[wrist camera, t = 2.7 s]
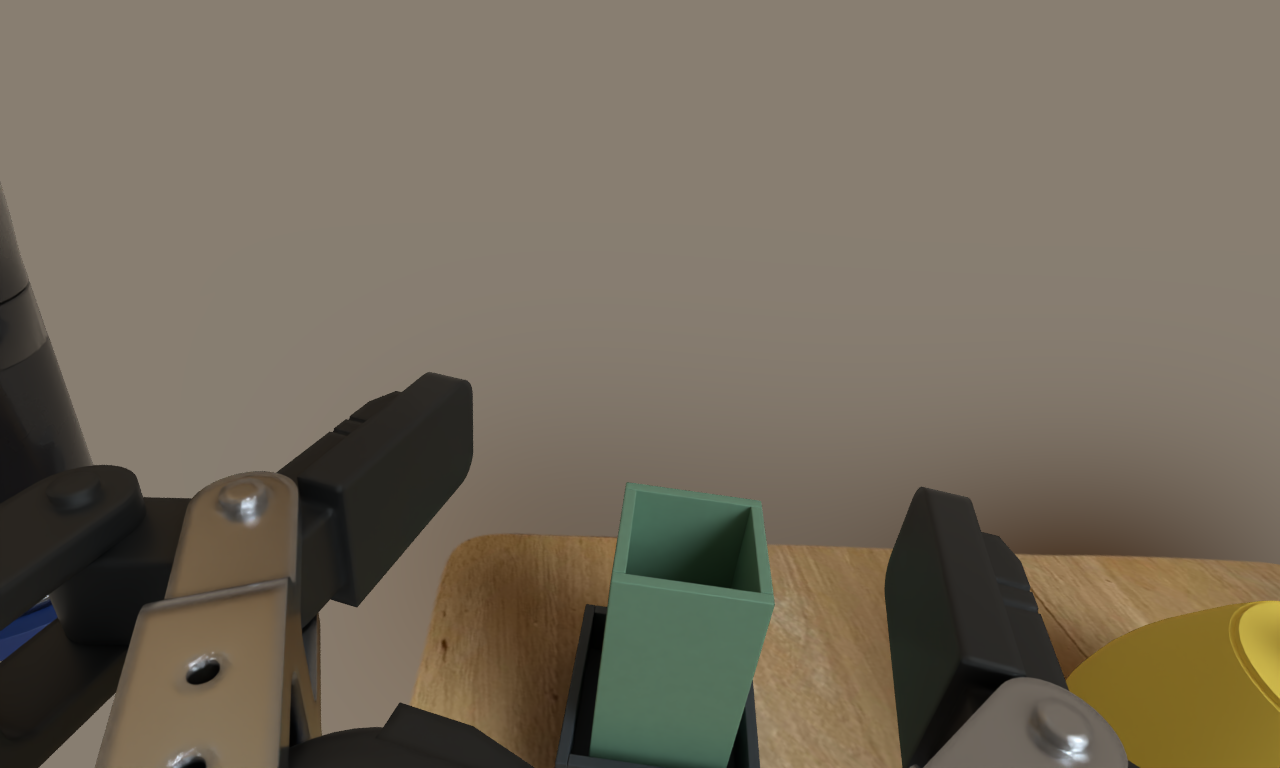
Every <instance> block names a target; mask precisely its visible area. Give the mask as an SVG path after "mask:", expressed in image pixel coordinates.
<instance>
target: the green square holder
mask: <svg viewBox="0 0 1280 768" xmlns="http://www.w3.org/2000/svg"><path fill="white" fill-rule="evenodd" d="M774 605H775V602H774V596H773V587H772V580H771V572H770V565H769V557H768V550H767V543H766V535H765V527H764V520H763V512H762V505H761V501H757V500H750V499H743V498H736V497H728V496H722V495H715V494H707V493H700V492H693V491H686V490H679V489H672V488H665V487H658V486H650V485H643V484H636V483H629V482H627V483H626V488H625V494H624V501H623V507H622V513H621V520H620V526H619V532H618V538H617V545H616V551H615V557H614V564H613V570H612V576H611V583H610V591H609V599H608V606H607V614H606V622H605V630H604V638H603V646H602V654H601V662H600V669H599V677H598V685H597V693H596V701H595V709H594V717H593V725H592V732H591V740H590V748H589V756H588V757H595V758H602V759H609V760H616V761H622V762H629V763H636V764H643V765H650V766H657V767H664V768H727V764H728V761H729V757H730V754H731V751H732V747H733V744H734V741H735V737H736V734H737V730H738V727H739V724H740V720H741V717H742V713H743V710H744V707H745V703H746V700H747V697H748V693H749V690H750V686H751V683H752V680H753V676H754V673H755V670H756V666H757V663H758V659H759V656H760V653H761V649H762V646H763V643H764V639H765V636H766V632H767V629H768V626H769V622H770V619H771V615H772V612H773V609H774Z"/></svg>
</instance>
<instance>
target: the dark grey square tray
mask: <svg viewBox="0 0 1280 768" xmlns="http://www.w3.org/2000/svg"><path fill="white" fill-rule="evenodd" d="M606 614H607V607H603V606H595V605H589V604H586V607H585V612H584V617H583V622H582V627H581V633H580V638H579V643H578V648H577V653H576V658H575V663H574V669H573V674H572V679H571V684H570V689H569V694H568V699H567V704H566V710H565V715H564V720H563V725H562V730H561V735H560V740H559V746H558V751H557V756H556V761H555V768H664V767H657V766H650V765H643V764H636V763H629V762H622V761H616V760H609V759H602V758H595V757H588V756H589V748H590V740H591V732H592V725H593V717H594V709H595V701H596V693H597V685H598V677H599V669H600V662H601V654H602V646H603V638H604V630H605V622H606ZM727 768H760V760H759V748H758V737H757V725H756V713H755V701H754V689H753V680H752V683H751V686H750V690H749V693H748V697H747V700H746V703H745V707H744V710H743V713H742V717H741V720H740V724H739V727H738V730H737V734H736V737H735V741H734V744H733V747H732V751H731V754H730V757H729V761H728V764H727Z"/></svg>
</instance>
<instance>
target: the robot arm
mask: <svg viewBox="0 0 1280 768" xmlns="http://www.w3.org/2000/svg"><path fill="white" fill-rule="evenodd" d="M472 395H473V394H472V387H471V384H470V383H469V382H468V381H466V380H462V379H458V378H454V377H449V376H445V375H441V374H437V373H432V372H428V373H426V374H424V375H423V376H421V377H420V378H419V379H418V380H416V381H415V382H414V383H413V384H411V385H410V386H409V387H408V388H407V389H405V390H404V391H403V392H398V391H395V392H392V393H390V394H387V395H385V396H382V397H380V398H377V399H374V400H372V401H369V402H368V403H367V404H365V405H364V406H363V407H361V408H360V409H359V410H357V411H356V412H355V413H354V414H352V415H351V416H350V419H349V420H347V419H346V420H344V421H343V422H342V423H340V424H339V425H338V426H337V427H335V428H334V431H333V432H329V433H327V434H326V435H325V436H323V437H322V438H321V439H320V440H318V441H317V442H316V443H314V444H313V445H312V446H310V447H309V448H308V449H307V450H305V451H304V452H303V453H301V454H300V455H299V456H298V457H296V458H295V459H293V461H291V462H290V463H288V464H287V465H286V466H284V467H283V468H282V469H280V470H279V471H278V472H277V473H274V472H265V471H264V472H263V471H256V472H246V473H240V474H236V475H232V476H228V477H226V478H223V479H220V480H218V481H216V482H213V483H212V484H210V485H208V486H206V487H205V488H203V489H202V490H201V491H199V492H198V493H197V494H196V495H195V496H194V497H193V498H192V499H189V498H148V497H143V496H142V493H141V489H140V486H139V483H138V480H137V477H136V475H135V474H134V473H133V472H132V471H130V470H128V469H126V468H123V467H119V466H112V465H93V462H92V460H91V457H90V454H89V451H88V448H87V445H86V442H85V440H84V437H83V434H82V431H81V428H80V425H79V422H78V419H77V417H76V414H75V411H74V408H73V405H72V402H71V399H70V396H69V394H68V391H67V388H66V385H65V382H64V379H63V376H62V374H61V371H60V368H59V365H58V362H57V359H56V356H55V353H54V351H53V348H52V345H51V342H50V339H49V336H48V334H47V331H46V328H45V325H44V323H43V319H42V316H41V314H40V311H39V308H38V305H37V303H36V299H35V296H34V293H33V291H32V288H31V285H30V282H29V279H28V275H27V272H26V269H25V266H24V264H23V261H22V258H21V255H20V252H19V248H18V245H17V241H16V236H15V232H14V228H13V224H12V220H11V216H10V212H9V209H8V206H7V202H6V199H5V195H4V193H3V189H2V186H1V183H0V631H1V630H3V629H4V628H5V627H7V626H8V625H9V624H11V623H12V622H13V621H15V620H16V619H17V618H19V617H22V616H25V615H28V614H31V613H34V612H36V611H39V610H41V609H44V608H46V607H48V606H50V605H53V607H54V609H55V612H56V614H57V616H58V617H57V618H56V619H55V620H53V621H52V622H51V623H50V624H48V625H47V626H46V627H45V628H43V629H42V630H41V631H40V632H38V633H37V634H36V635H34V636H33V637H32V638H31V639H29V640H28V641H27V642H26V643H24V644H23V645H22V646H21V647H19V648H18V649H17V650H16V651H14V652H13V653H12V654H10V655H9V656H8V657H7V658H5V659H4V660H3V661H2V662H1V663H0V768H38V767H40V766H41V765H42V764H43V763H44V762H45V761H46V760H47V759H48V758H49V757H50V756H51V755H52V754H53V753H54V752H55V751H56V750H57V749H58V748H59V747H60V746H61V745H62V744H63V743H64V742H65V741H66V740H67V739H68V738H69V737H70V736H72V735H73V734H74V733H75V732H76V730H78V729H79V728H80V727H81V726H82V725H83V724H84V723H85V722H86V721H87V720H88V719H89V718H90V717H91V716H92V715H93V714H94V713H95V712H96V711H97V710H98V709H99V708H100V707H101V706H102V705H103V704H104V703H105V702H106V701H107V700H108V699H110V698H111V697H112V696H113V695H114V694H115V693H116V694H115V698H114V702H113V705H112V709H111V712H110V716H109V719H108V723H107V726H106V730H105V734H104V737H103V740H102V744H101V747H100V751H99V754H98V758H97V761H96V765H95V768H534V767H533V766H531V765H530V764H528V763H527V762H525V761H524V760H522V759H521V758H519V757H518V756H516V755H515V754H514V753H512V752H511V751H509V750H508V749H506V748H505V747H503V746H502V745H500V744H499V743H497V742H496V741H494V740H493V739H491V738H490V737H488V736H487V735H485V734H484V733H482V732H481V731H479V730H478V729H476V728H475V727H473V726H471V725H467V724H464V723H461V722H458V721H455V720H452V719H449V718H446V717H443V716H440V715H437V714H434V713H431V712H427V711H424V710H421V709H418V708H415V707H412V706H409V705H406V704H403V703H399V704H398V706H397V707H396V709H395V710H394V712H393V713H392V715H391V716H390V718H389V720H388V721H387V723H386V724H385V726H384V727H383V728H381V727H371V728H357V729H350V730H344V731H339V732H334V733H330V734H327V735H323V736H322V731H321V680H320V679H321V677H320V675H321V670H320V620H319V613H318V612H319V611H320V610H321V609H322V608H323V607H324V605H325V604H326V603H327V602H328V601H329V600H330V599H331V600H334V601H337V602H341V603H344V604H347V605H351V606H354V607H358V606H359V605H360V603H361V602H362V601H363V600H364V599H365V597H366V596H367V595H368V594H369V593H370V592H371V590H372V589H373V588H374V587H375V585H376V584H377V583H378V582H379V581H380V580H381V579H382V577H383V576H384V575H385V574H386V573H387V571H388V570H389V569H390V568H391V567H392V565H393V564H394V563H395V562H396V561H397V560H398V558H399V557H400V556H401V555H402V554H403V553H404V551H405V550H406V549H407V547H409V545H410V544H411V543H412V542H413V541H414V539H415V538H416V537H417V536H418V535H419V534H420V532H421V531H422V530H423V529H424V528H425V526H426V525H427V524H428V523H429V522H430V520H431V519H432V518H433V517H434V516H435V515H436V513H437V512H438V511H439V510H440V509H441V508H442V506H443V505H444V504H445V503H446V502H447V500H448V499H449V498H450V497H451V496H452V495H453V493H454V492H455V491H456V490H457V489H458V487H459V486H460V485H461V484H462V482H463V481H464V479H465V478H466V476H467V473H468V471H469V468H470V465H471V462H472V456H473V401H472V400H473V396H472ZM885 602H886V611H887V621H888V631H889V641H890V650H891V660H892V670H893V680H894V689H895V699H896V709H897V719H898V728H899V738H900V748H901V758H902V767H903V768H1140V767H1138V766H1136V765H1135V764H1133V763H1132V762H1130V761H1129V760H1128V759H1127V754H1126V751H1125V749H1124V746H1123V744H1122V742H1121V740H1120V739H1119V737H1118V735H1117V734H1116V732H1115V731H1114V730H1113V728H1112V727H1111V726H1110V724H1109V723H1108V722H1107V721H1106V720H1105V719H1104V718H1103V717H1102V716H1101V715H1100V714H1099V713H1098V712H1097V711H1096V710H1095V709H1094V708H1093V707H1091V706H1090V705H1089V704H1088V703H1086V702H1085V701H1084V700H1082V699H1081V698H1079V697H1078V696H1076V695H1075V694H1073V693H1072V692H1070V691H1069V689H1068V686H1067V683H1066V681H1065V678H1064V675H1063V673H1062V670H1061V667H1060V665H1059V662H1058V659H1057V657H1056V654H1055V651H1054V649H1053V646H1052V643H1051V641H1050V638H1049V635H1048V633H1047V630H1046V627H1045V625H1044V622H1043V619H1042V617H1041V614H1038V606H1037V603H1036V601H1035V598H1034V595H1033V593H1032V592H1030V585H1029V582H1028V579H1027V577H1026V574H1025V571H1024V569H1023V566H1022V563H1021V561H1020V560H1019V559H1018V558H1017V557H1016V555H1015V554H1014V553H1013V552H1012V551H1011V550H1010V549H1009V547H1008V546H1007V545H1006V544H1005V543H1004V542H1003V541H1002V540H1001V538H1000V537H999V536H996V535H992V534H988V533H984V532H981V530H980V527H979V524H978V520H977V517H976V514H975V511H974V508H973V504H972V502H971V500H970V499H969V498H968V497H964V496H960V495H955V494H951V493H947V492H942V491H938V490H933V489H929V488H925V487H920V488H919V489H918V490H917V491H916V493H915V495H914V497H913V499H912V502H911V504H910V507H909V510H908V512H907V515H906V517H905V520H904V522H903V525H902V528H901V530H900V533H899V535H898V538H897V540H896V543H895V546H894V548H893V551H892V553H891V556H890V559H889V563H888V567H887V572H886V578H885Z"/></svg>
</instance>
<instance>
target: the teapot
mask: <svg viewBox="0 0 1280 768" xmlns="http://www.w3.org/2000/svg"><path fill="white" fill-rule="evenodd" d="M1066 683H1067V686H1068V689H1069V691H1070V692H1072V693H1073V694H1075V695H1076V696H1078V697H1079V698H1081V699H1082V700H1084V701H1085V702H1086V703H1088V704H1089V705H1090V706H1091V707H1093V708H1094V709H1095V710H1096V711H1097V712H1098V713H1099V714H1100V715H1101V716H1102V717H1103V718H1104V719H1105V720H1106V721H1107V722H1108V723H1109V724H1110V726H1111V727H1112V728H1113V730H1114V731H1115V732H1116V734H1117V735H1118V737H1119V739H1120V740H1121V742H1122V744H1123V746H1124V749H1125V751H1126V754H1127V759H1128V760H1129V761H1130V762H1132V763H1133V764H1135V765H1136V766H1138V767H1140V768H1280V601H1257V602H1249V603H1240V604H1232V605H1226V606H1222V607H1217V608H1212V609H1207V610H1203V611H1198V612H1193V613H1189V614H1185V615H1180V616H1176V617H1171V618H1167V619H1164V620H1161V621H1158V622H1154V623H1151V624H1148V625H1145V626H1143V627H1140V628H1138V629H1136V630H1133V631H1131V632H1129V633H1127V634H1125V635H1123V636H1121V637H1119V638H1116V639H1114V640H1113V641H1111V642H1110V643H1108V644H1107V645H1105V646H1104V647H1102V648H1101V649H1100V650H1098V651H1097V652H1095V653H1094V654H1093V655H1091V656H1090V657H1089V658H1087V659H1086V660H1085V661H1084V662H1083V663H1082V664H1080V665H1079V666H1078V667H1077V668H1076V669H1075V670H1074V671H1073V672H1072V673H1071V674H1070V676H1069V677H1068V678H1067V680H1066Z"/></svg>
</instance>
